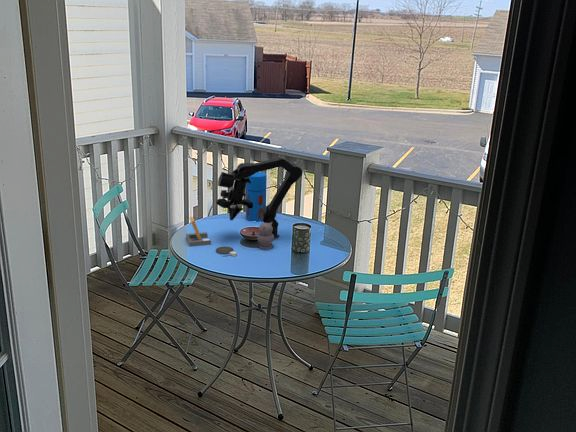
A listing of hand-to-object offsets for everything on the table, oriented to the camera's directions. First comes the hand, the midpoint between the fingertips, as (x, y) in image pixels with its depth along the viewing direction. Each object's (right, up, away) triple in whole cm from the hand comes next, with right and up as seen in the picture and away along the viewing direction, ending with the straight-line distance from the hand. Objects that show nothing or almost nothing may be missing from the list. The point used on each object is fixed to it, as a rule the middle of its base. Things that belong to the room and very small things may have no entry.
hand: (231, 220), depth 269 cm
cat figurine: (+17, -13, -4) cm, 22 cm away
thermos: (+10, 0, +33) cm, 34 cm away
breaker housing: (-16, -11, -2) cm, 19 cm away
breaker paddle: (-14, -10, -2) cm, 18 cm away
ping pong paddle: (-1, -15, -13) cm, 20 cm away
